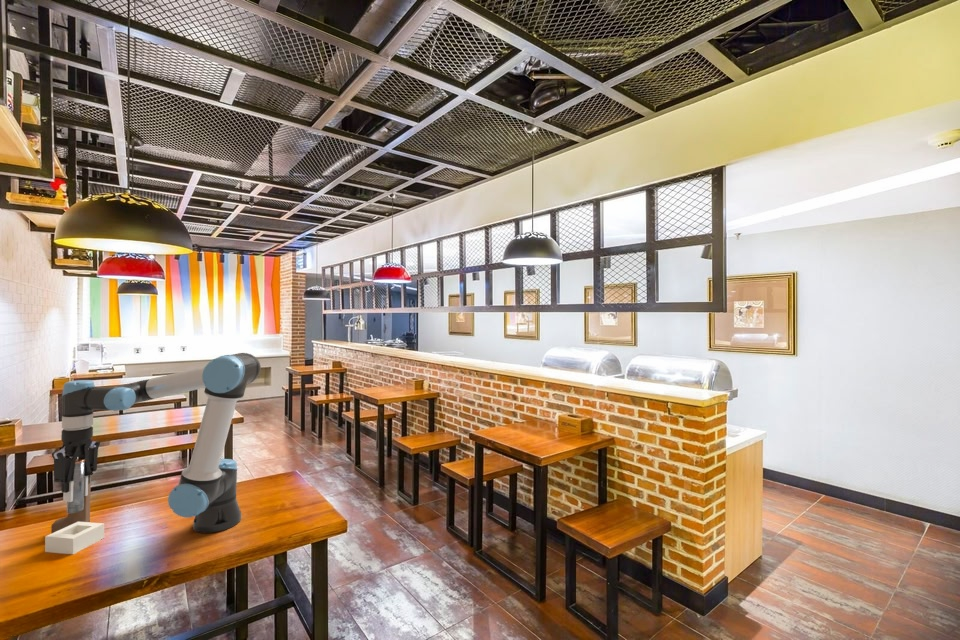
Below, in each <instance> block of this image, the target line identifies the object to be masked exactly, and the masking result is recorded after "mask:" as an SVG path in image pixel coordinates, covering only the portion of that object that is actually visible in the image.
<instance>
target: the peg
mask: <svg viewBox="0 0 960 640" xmlns="http://www.w3.org/2000/svg"><path fill="white" fill-rule="evenodd" d="M84 474H85V459H78V458H77V460H76V461H75V464H74V469H73V473H72V478H71V481H74V485H73V501H72V502H66V513H67V514H69V513H76V512H79V511H82V510H83V509H84Z"/></svg>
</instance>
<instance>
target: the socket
mask: <svg viewBox="0 0 960 640" xmlns="http://www.w3.org/2000/svg"><path fill="white" fill-rule="evenodd" d="M103 538H104V539H105V523H104V522H103V523H101V522H91V521H90V522H76V523H74V524H72V525H69V526H67V527H65V528H63V529H61V530H58V531H56V532H54V533H52V534H51V533H50V534H48V535H45V537H44V541H45V542H44V553H51V554H61V555H75V554H77V553H78V552H81V551H82V550H84V549H86V548H88V547H90V546H92V545H94V544H96V543H97V542H99V541H101V539H102V540H104V539H103Z"/></svg>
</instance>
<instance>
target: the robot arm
mask: <svg viewBox="0 0 960 640" xmlns="http://www.w3.org/2000/svg"><path fill="white" fill-rule="evenodd" d="M261 369H262V368H261V363H260V361H259V359H258V358H257V356H254V355H253V354H251V353H247V352H238V353H234V354H224V355H220V356H218V357H216V358H213V359H212V360H210V361H209V362H208V363H207V364H206V365H205V366H203V367H197V368H193V369H189V370H184V371H180V372H175V373H169V374H166V375H161V376H157V377H154V378H149V379H147V378H146V379H143V380H138V381H133V382H129V383H126V384H120V385H115V386H107V387H106V386H102V387H101V386H95V382H94V381H93V380H91V379H78V380H70V381H66V382H65V383H64V384H63V388H62V394H61V397H62V400H61V401H62V414H61V415H62V416H61V429H62V430H61V440H60V441H61V442H62V446H61V449H59V450H58V451H54V452H52V453H51V457H52V459H53V479H54V480H53V482H54V483H59V484H60V483H61V493H62V494H63V495H62V498H63V499H62V502H66V503H67V502H72V501H73V485H74V481H71V478H72V473H73V469H74V464H75V461H76V460H77V459H85V474H84V496H87V495H88V484H89V483H90V478H91V476H93V475H94V472H96V471H97V468H98V456H99V447H100V445H101V441H93V440H92V438H93V436H94V434H93V433H94V426H93V425H94V411H114V412H117V411H126V410H129V409H131V407H132V406H133V405H134V404H139V403H143V402H148V401H152V400H157V399H159V398H160V399H161V398H164V397H170V396H174V395H178V394H183V393H187V392H191V391H192V392H193V391H196V390H197V391H198V390H200V389H204V391H203V393H204V394H205V395H206V396H207V397H206V398H207V401H206V404H205V408H204V412H203V415H202V418H201V422H200V426H199V428H198V433H197V436H196V439H195V442H194V443H195V444H194V448H193V451H192V454H191V459H190V462H189V465H188V466H187V467H185V468H184V469H183V470H182V471H181V474H180V477H179V478H180V479H179V482H178V484H177V485H176V486H175V487H173V488H172V490H171V491H170V492H169V494H168V496H167V497H168V498H167V502H168V506H169V509H171V510H172V512H173V513H174V514H175V515H177V516H178V517H182V518H192V517H193V518H194V519H193V522H192V529H193V531H194V532H196V533H199V534H211V533H217V532H218V533H219V532H221V531H224V530H227V529H231V528H232V527H234V526H236V525H238V524H239V523H240V522H241V520H242V511H241V509H240V505H239V502H238V501H237V488H238V487H237V483H238V482H237V481H238V478H237V476H238V465H237V461H236V460H234V459H231V458H222V455H223V452H224V450H225V445H226V442H227V438H228V435H229V431H230V428H231V424H232V420H233V416H234V414H235V410H236V405H237V402H238V401H239V400H242V399H243V398H244V395H245V392H246V388H247V385H250V384H252V383H253V382H254V381H256V380H257V378H258V377H259V375H261Z"/></svg>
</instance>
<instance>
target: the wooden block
mask: <svg viewBox="0 0 960 640" xmlns="http://www.w3.org/2000/svg"><path fill="white" fill-rule="evenodd" d="M91 482H92V479H91V477H90V483H89V484H88V495H87V496H84V509H83V510H82V511H79V512H76V513H67V515H66V516H64V517H60V518H57V519H56V520H54V522H52V524H51V528H50V529H51V530H50V531H51V532H50V534H52V533H54V532H56V531H58V530H61V529H63V528H65V527H67V526H69V525H72V524H74V523H76V522H91V489H92V487H91V486H92V485H91Z"/></svg>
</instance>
